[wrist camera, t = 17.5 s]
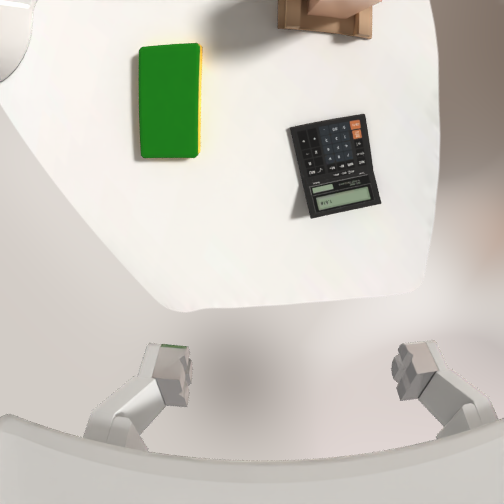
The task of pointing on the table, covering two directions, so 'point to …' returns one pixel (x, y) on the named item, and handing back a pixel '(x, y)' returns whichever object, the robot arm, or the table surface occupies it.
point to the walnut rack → (323, 20)
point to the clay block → (338, 7)
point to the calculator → (336, 165)
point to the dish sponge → (170, 100)
